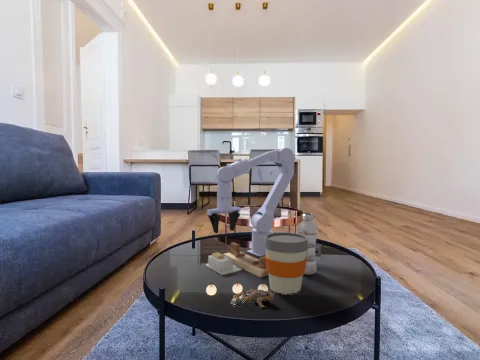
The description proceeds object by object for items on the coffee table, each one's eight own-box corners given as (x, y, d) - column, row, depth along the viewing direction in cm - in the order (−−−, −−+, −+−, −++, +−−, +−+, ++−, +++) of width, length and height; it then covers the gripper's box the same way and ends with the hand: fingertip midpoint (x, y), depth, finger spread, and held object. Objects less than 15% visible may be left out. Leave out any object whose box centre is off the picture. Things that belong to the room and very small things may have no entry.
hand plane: (237, 255, 114) (238, 240, 114) (276, 272, 96) (276, 255, 96) (222, 259, 110) (223, 243, 110) (260, 277, 92) (260, 259, 92)
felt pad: (224, 261, 107) (224, 260, 107) (242, 270, 98) (242, 269, 98) (205, 265, 103) (205, 264, 103) (222, 275, 94) (222, 274, 94)
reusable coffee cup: (303, 300, 77) (305, 245, 76) (258, 293, 81) (259, 240, 80) (309, 282, 88) (310, 234, 88) (269, 277, 93) (270, 230, 92)
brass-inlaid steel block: (220, 263, 104) (220, 251, 104) (232, 269, 98) (232, 257, 97) (208, 265, 101) (208, 253, 101) (219, 272, 95) (220, 259, 95)
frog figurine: (282, 297, 80) (282, 283, 79) (268, 318, 69) (268, 302, 68) (243, 289, 84) (243, 276, 84) (225, 308, 73) (225, 293, 73)
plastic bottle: (317, 271, 98) (318, 212, 97) (315, 278, 92) (317, 216, 91) (298, 268, 100) (299, 211, 99) (295, 275, 94) (296, 214, 93)
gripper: (233, 195, 121) (233, 227, 122) (203, 197, 113) (202, 231, 113) (243, 197, 116) (243, 230, 116) (212, 199, 107) (212, 235, 108)
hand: (224, 231), depth 114 cm, fingers open, 7 cm apart
